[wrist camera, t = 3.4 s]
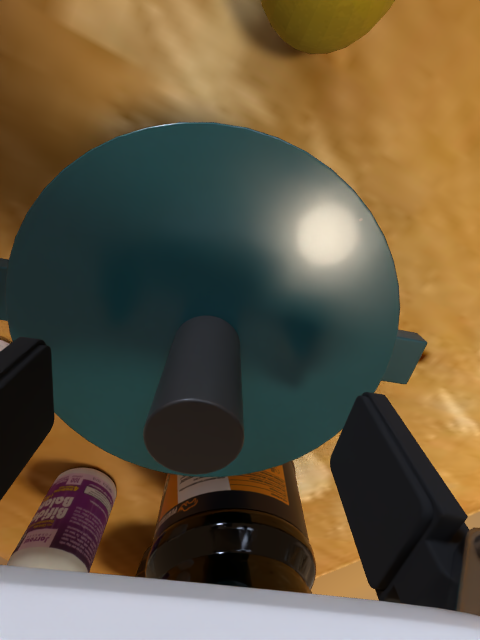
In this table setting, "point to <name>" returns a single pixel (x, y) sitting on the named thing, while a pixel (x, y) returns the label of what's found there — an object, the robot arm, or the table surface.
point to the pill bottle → (68, 523)
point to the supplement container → (234, 532)
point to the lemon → (323, 21)
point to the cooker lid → (204, 298)
